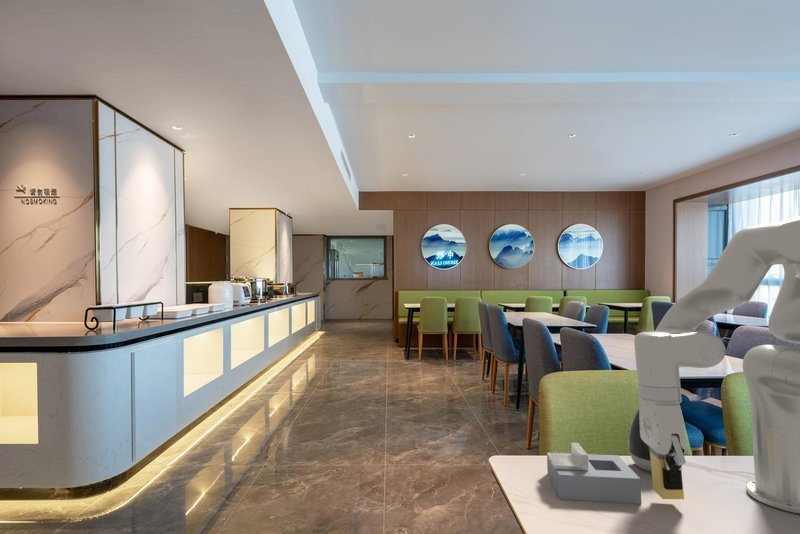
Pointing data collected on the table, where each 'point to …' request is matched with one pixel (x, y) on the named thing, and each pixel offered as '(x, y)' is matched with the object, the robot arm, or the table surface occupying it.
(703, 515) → the table surface
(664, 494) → the plug
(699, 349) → the robot arm
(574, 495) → the socket board
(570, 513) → the table surface
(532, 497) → the table surface
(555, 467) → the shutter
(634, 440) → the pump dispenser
